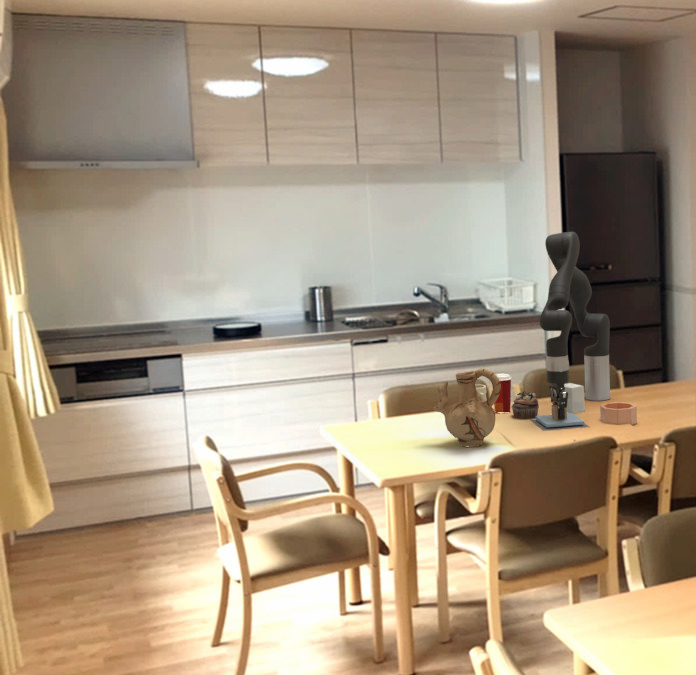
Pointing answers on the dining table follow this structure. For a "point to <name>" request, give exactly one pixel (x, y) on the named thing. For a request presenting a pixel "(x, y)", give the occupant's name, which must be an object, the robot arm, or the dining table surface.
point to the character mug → (481, 391)
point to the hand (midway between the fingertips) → (559, 417)
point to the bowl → (618, 413)
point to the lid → (555, 422)
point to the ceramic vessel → (469, 408)
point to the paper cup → (504, 394)
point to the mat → (558, 426)
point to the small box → (575, 398)
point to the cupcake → (525, 406)
